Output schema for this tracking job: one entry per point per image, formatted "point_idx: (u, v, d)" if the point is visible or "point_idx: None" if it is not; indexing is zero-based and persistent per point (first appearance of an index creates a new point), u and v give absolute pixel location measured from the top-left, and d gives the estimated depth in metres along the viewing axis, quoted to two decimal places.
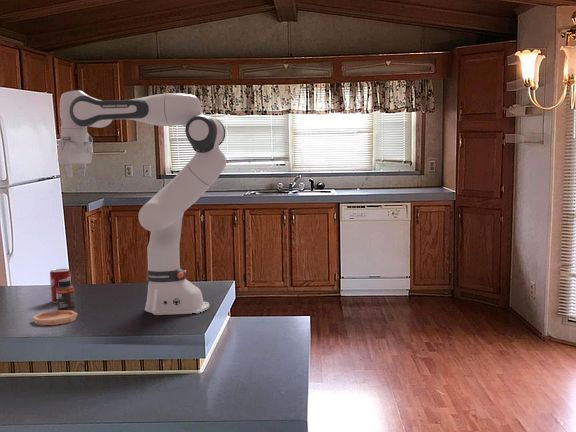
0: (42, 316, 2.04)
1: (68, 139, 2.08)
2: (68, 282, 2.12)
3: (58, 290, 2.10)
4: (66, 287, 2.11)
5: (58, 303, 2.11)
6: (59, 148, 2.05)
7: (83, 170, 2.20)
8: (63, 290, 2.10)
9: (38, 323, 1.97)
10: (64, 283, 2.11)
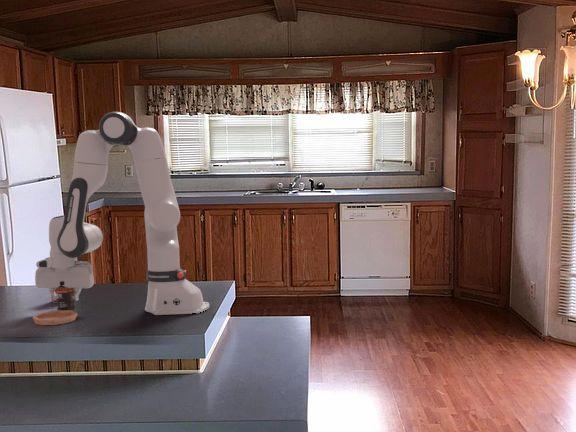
0: (42, 316, 2.04)
1: None
2: None
3: (58, 290, 2.10)
4: (66, 287, 2.11)
5: (58, 303, 2.11)
6: (89, 273, 2.10)
7: (55, 293, 2.14)
8: (63, 290, 2.10)
9: (38, 323, 1.97)
10: None
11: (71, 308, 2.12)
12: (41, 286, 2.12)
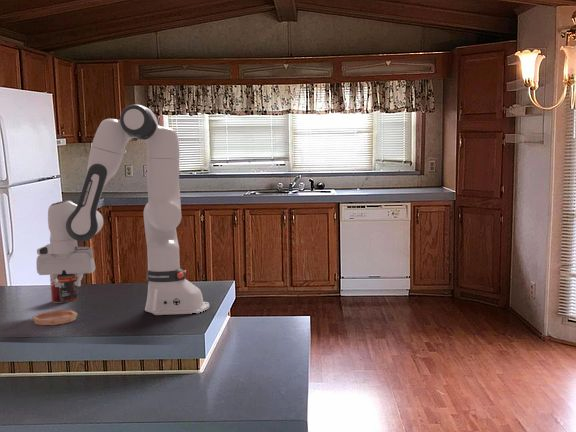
0: (42, 316, 2.04)
1: None
2: None
3: (60, 279, 2.10)
4: (68, 276, 2.11)
5: (61, 292, 2.11)
6: (90, 258, 2.10)
7: (57, 280, 2.14)
8: (65, 279, 2.10)
9: (38, 323, 1.97)
10: None
11: (74, 297, 2.12)
12: (43, 273, 2.12)
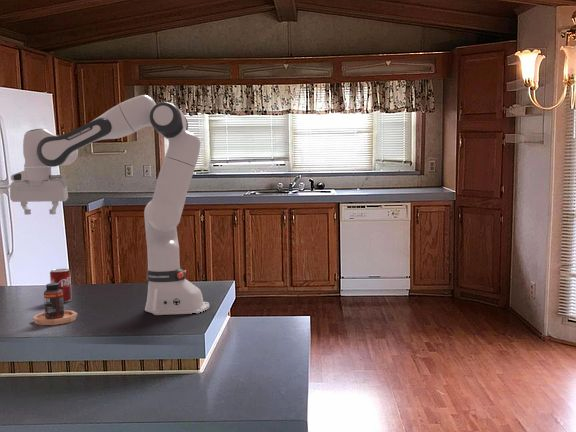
0: (42, 316, 2.04)
1: None
2: (56, 286, 2.00)
3: (46, 294, 1.99)
4: (54, 291, 1.99)
5: (46, 308, 1.99)
6: (63, 186, 2.13)
7: (27, 208, 2.17)
8: (51, 294, 1.98)
9: (38, 323, 1.97)
10: (52, 287, 1.99)
11: (60, 313, 2.00)
12: (16, 200, 2.15)
